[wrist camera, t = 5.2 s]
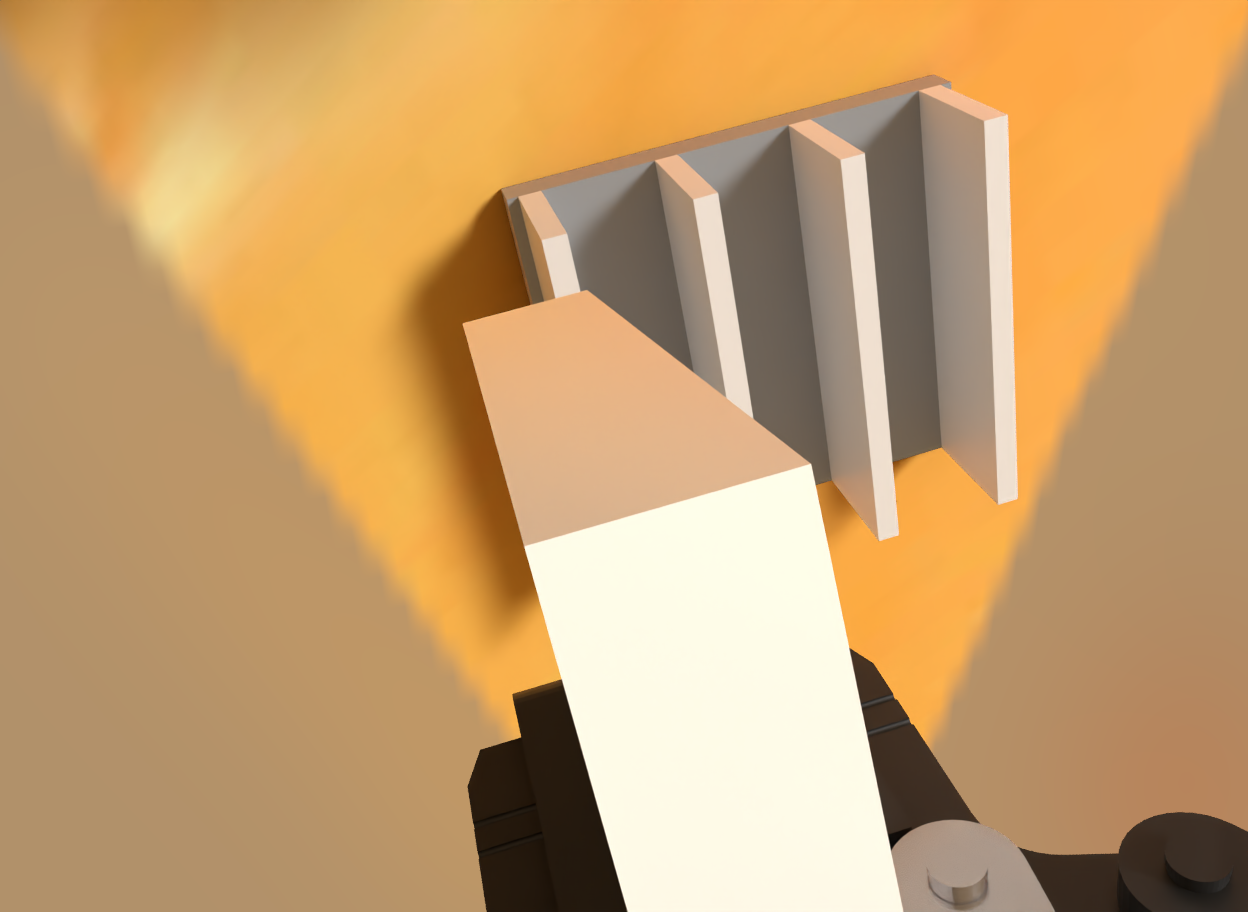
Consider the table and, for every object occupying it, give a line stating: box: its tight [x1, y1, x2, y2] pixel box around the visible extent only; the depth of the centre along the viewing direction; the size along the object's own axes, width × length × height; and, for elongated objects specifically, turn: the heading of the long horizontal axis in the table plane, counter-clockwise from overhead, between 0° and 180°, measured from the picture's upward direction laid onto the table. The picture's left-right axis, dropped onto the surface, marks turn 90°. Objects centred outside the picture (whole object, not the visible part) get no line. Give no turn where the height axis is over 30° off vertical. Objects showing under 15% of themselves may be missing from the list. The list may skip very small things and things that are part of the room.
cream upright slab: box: [463, 290, 903, 912], centre depth 14 cm, size 9×2×11 cm, turn 12°
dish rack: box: [501, 75, 1018, 541], centre depth 32 cm, size 11×12×4 cm
